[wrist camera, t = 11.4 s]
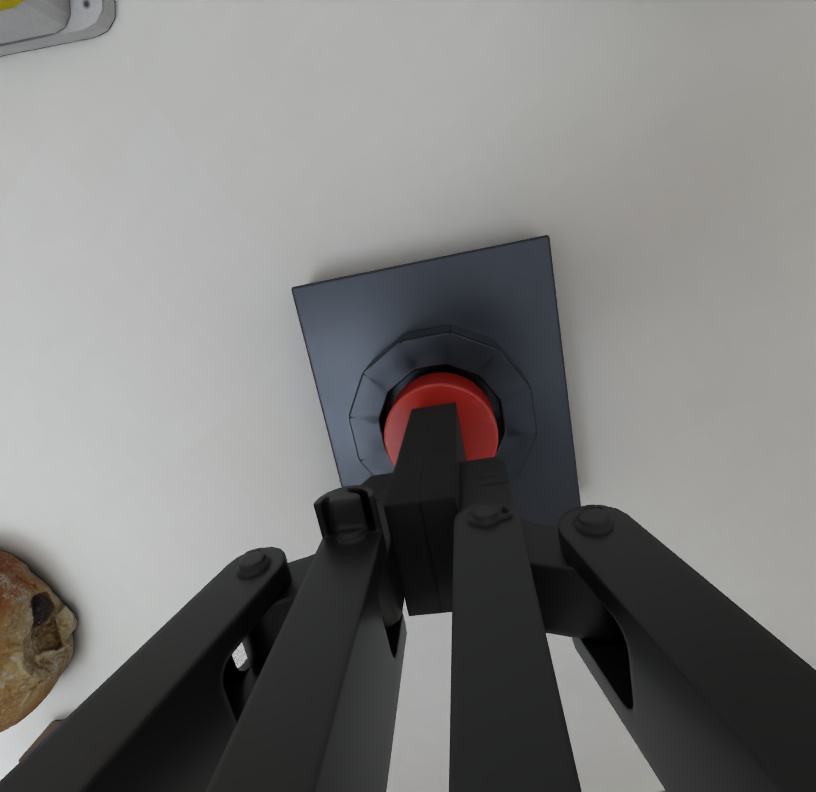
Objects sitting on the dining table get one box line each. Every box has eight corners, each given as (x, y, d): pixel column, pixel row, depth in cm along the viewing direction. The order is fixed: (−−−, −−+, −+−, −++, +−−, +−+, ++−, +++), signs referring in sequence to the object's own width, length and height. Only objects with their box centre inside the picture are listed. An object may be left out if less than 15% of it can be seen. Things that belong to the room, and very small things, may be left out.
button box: (571, 500, 23) (594, 549, 19) (366, 526, 24) (349, 577, 21) (539, 236, 20) (559, 232, 16) (306, 284, 21) (274, 291, 18)
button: (502, 462, 19) (506, 483, 17) (401, 477, 20) (396, 498, 18) (486, 363, 18) (489, 374, 16) (380, 381, 19) (372, 394, 17)
